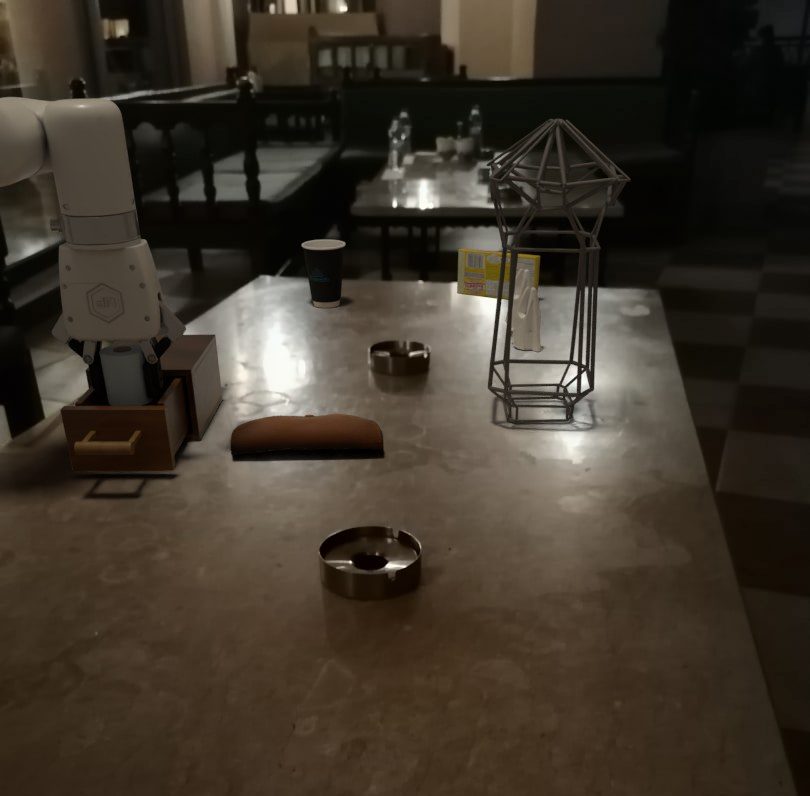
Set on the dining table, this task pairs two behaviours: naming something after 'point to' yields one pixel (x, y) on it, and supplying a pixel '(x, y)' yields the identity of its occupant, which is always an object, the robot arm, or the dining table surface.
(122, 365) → the paper roll
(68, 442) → the drawer
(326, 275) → the dixie cup
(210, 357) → the cabinet
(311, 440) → the sunglasses case
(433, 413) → the dining table surface
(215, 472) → the dining table surface
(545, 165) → the geometric lantern
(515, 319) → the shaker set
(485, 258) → the candy box
